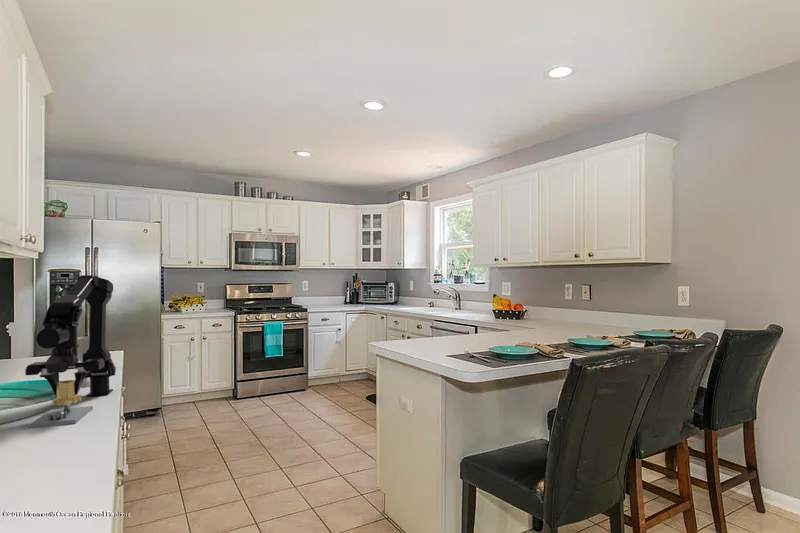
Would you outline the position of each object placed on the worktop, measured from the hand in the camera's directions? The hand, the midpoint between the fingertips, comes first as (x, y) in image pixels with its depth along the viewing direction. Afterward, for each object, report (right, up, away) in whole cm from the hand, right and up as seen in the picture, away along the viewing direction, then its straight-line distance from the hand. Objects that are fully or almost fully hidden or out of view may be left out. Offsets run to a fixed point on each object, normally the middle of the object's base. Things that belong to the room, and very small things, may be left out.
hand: (66, 395), depth 141 cm
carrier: (+1, -6, -3) cm, 7 cm away
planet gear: (0, -2, 0) cm, 2 cm away
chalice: (-18, -6, +35) cm, 40 cm away
